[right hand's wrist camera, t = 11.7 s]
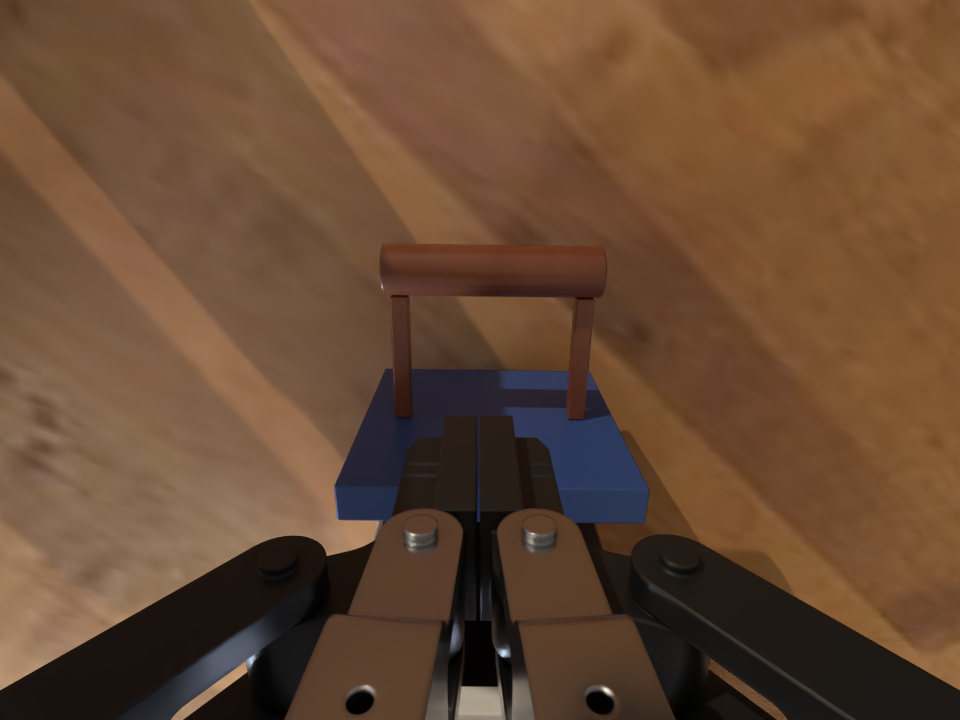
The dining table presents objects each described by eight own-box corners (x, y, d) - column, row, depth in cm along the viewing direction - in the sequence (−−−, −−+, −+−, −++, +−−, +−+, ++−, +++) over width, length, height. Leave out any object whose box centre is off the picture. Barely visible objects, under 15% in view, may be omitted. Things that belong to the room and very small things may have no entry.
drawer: (378, 226, 23) (314, 271, 14) (602, 229, 23) (679, 276, 14) (396, 602, 29) (360, 794, 20) (569, 604, 29) (607, 796, 20)
